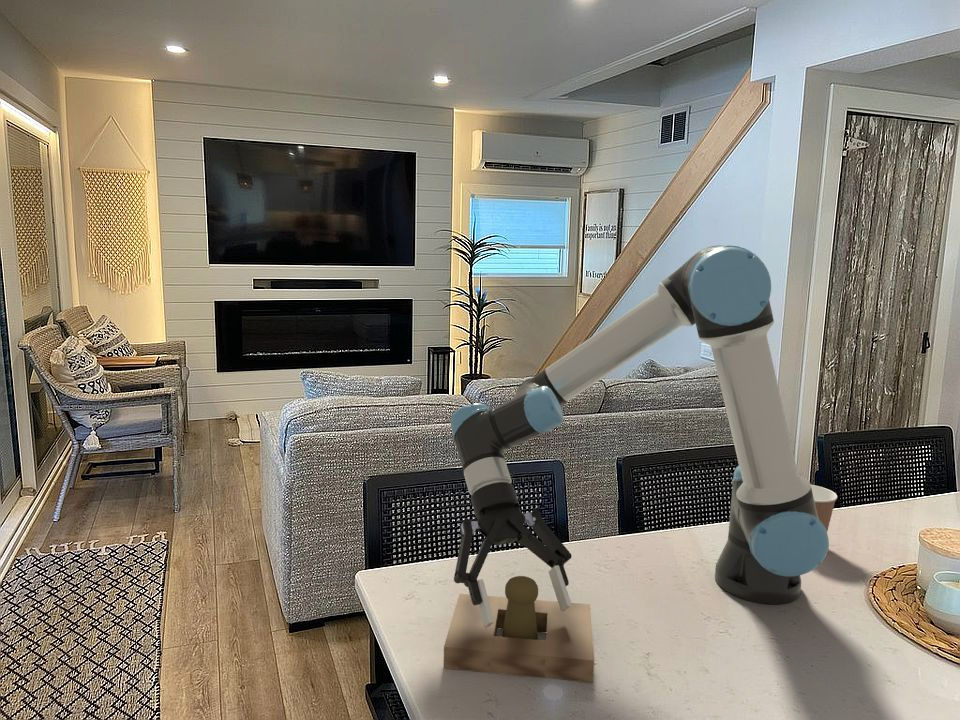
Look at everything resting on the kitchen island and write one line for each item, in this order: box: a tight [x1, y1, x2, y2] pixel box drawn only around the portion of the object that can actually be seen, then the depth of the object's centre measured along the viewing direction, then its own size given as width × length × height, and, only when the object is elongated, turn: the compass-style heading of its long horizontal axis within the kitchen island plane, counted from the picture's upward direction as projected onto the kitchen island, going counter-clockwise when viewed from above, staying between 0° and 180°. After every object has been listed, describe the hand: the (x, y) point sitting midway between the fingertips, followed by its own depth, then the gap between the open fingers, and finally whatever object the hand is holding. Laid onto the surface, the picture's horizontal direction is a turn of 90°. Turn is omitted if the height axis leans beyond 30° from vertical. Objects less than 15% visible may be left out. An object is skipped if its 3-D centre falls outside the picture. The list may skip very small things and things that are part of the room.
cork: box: [501, 575, 539, 640], centre depth 111 cm, size 6×6×11 cm
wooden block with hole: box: [443, 593, 595, 683], centre depth 112 cm, size 22×16×4 cm
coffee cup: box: [811, 484, 838, 532], centre depth 151 cm, size 10×10×12 cm
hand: (528, 616), depth 109 cm, fingers open, 13 cm apart
